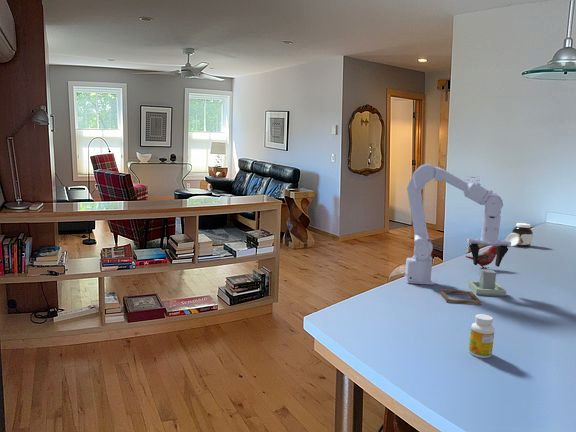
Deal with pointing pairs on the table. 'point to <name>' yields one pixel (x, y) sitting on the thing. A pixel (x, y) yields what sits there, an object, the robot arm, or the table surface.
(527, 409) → the table surface
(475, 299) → the walnut frame
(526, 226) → the spread jar
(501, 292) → the sage tray
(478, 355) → the supplement bottle
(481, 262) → the decorative bird figurine
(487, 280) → the stone block
